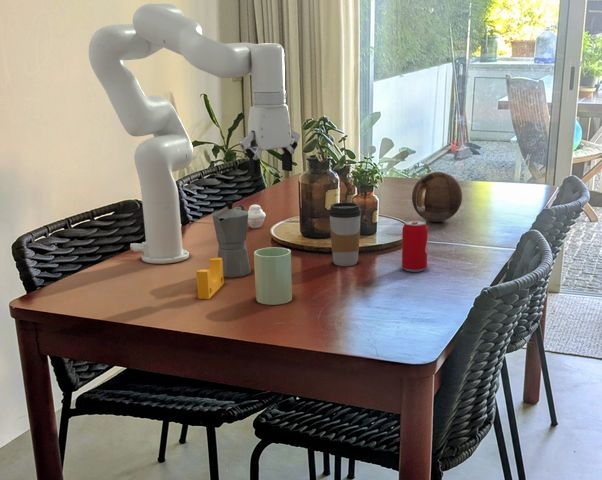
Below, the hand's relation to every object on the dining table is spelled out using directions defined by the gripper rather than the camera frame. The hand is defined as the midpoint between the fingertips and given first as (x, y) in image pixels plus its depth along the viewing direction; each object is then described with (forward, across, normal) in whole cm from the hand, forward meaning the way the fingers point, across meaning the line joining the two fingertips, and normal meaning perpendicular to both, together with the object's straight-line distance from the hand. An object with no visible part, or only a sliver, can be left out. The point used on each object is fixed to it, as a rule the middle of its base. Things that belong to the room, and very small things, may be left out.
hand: (271, 173), depth 208 cm
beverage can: (+25, -26, +23) cm, 43 cm away
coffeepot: (+25, +7, -7) cm, 27 cm away
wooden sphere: (+25, -69, -8) cm, 74 cm away
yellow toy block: (+25, +21, +2) cm, 33 cm away
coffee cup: (+25, -18, +6) cm, 31 cm away
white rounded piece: (+25, -26, -42) cm, 55 cm away
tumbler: (+25, +14, +17) cm, 33 cm away
